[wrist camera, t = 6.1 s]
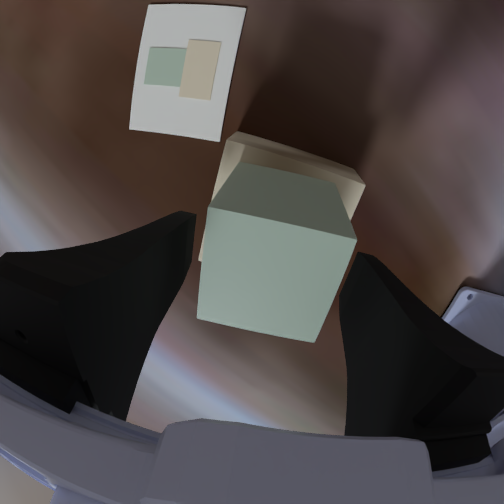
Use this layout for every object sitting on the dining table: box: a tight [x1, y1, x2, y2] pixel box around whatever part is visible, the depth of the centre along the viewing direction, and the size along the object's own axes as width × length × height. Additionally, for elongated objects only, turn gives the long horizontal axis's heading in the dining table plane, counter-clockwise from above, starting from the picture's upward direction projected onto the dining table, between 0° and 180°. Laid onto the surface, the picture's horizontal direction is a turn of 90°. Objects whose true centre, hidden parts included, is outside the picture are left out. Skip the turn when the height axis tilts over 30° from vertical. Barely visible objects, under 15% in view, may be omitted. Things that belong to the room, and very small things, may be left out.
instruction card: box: [129, 4, 246, 142], centre depth 13 cm, size 5×7×1 cm
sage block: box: [197, 162, 357, 343], centre depth 11 cm, size 4×4×5 cm
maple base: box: [198, 131, 366, 261], centre depth 15 cm, size 6×6×3 cm
